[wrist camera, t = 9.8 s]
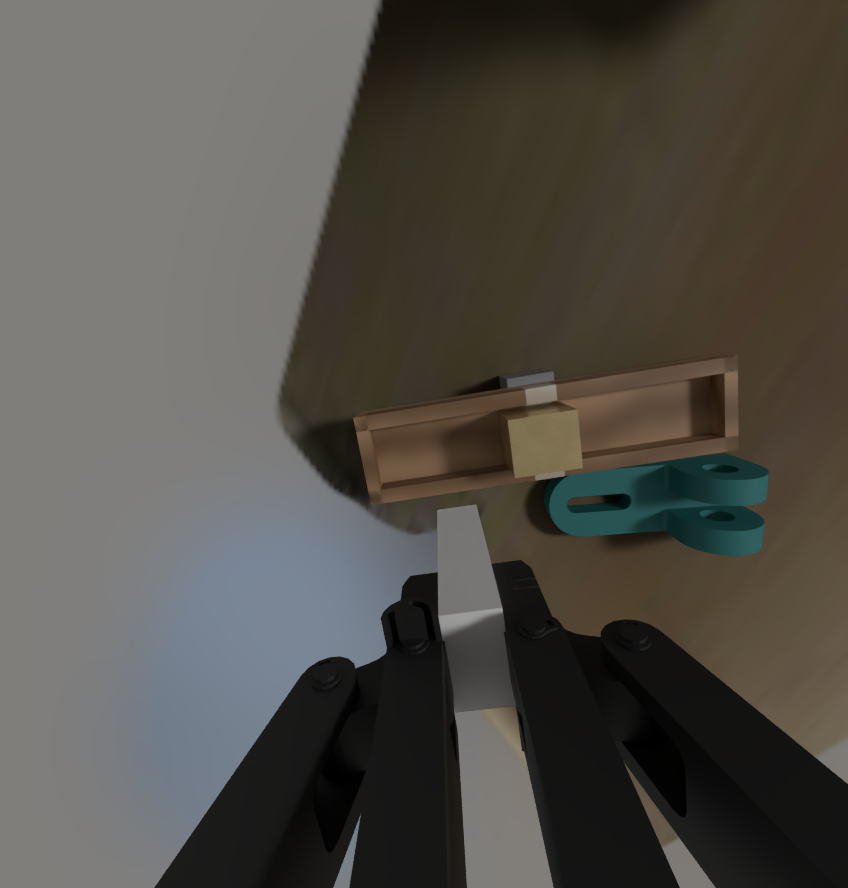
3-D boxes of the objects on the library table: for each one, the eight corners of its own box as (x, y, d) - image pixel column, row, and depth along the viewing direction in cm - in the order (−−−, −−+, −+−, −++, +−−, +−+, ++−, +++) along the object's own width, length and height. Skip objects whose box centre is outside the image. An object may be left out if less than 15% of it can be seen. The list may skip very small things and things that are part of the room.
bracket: (725, 453, 42) (790, 476, 35) (721, 516, 44) (782, 552, 36) (542, 467, 43) (566, 493, 35) (544, 529, 44) (567, 567, 37)
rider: (497, 410, 35) (507, 420, 31) (557, 400, 35) (577, 409, 30) (504, 460, 36) (514, 478, 32) (562, 452, 36) (582, 468, 31)
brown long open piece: (366, 397, 42) (351, 408, 34) (679, 345, 40) (737, 345, 32) (383, 484, 44) (372, 513, 36) (683, 438, 42) (738, 458, 34)
